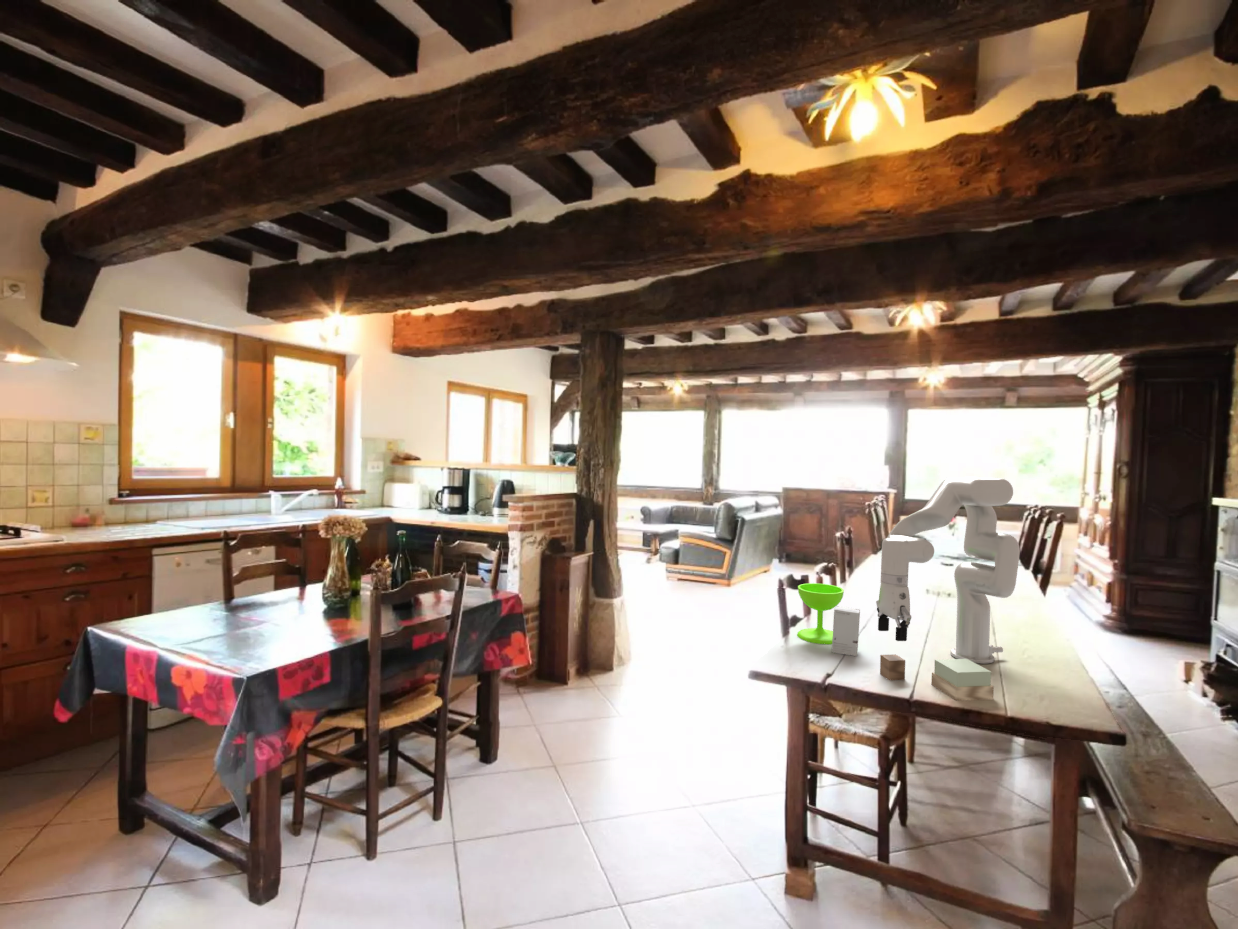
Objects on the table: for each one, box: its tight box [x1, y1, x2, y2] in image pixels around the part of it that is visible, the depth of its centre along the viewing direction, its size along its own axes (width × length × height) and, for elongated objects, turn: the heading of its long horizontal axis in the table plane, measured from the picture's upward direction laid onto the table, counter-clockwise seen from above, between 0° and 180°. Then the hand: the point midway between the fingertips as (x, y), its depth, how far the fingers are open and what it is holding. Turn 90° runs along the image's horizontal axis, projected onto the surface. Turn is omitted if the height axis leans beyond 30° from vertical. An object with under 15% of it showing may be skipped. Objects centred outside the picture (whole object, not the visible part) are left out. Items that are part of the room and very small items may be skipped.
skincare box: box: [831, 605, 861, 657], centre depth 203 cm, size 8×6×15 cm
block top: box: [933, 658, 992, 687], centre depth 170 cm, size 10×10×4 cm
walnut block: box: [879, 654, 906, 681], centre depth 181 cm, size 5×5×6 cm
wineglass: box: [796, 582, 845, 645], centre depth 218 cm, size 16×16×18 cm
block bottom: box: [930, 671, 995, 702], centre depth 171 cm, size 11×11×4 cm
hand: (891, 635), depth 181 cm, fingers open, 9 cm apart
